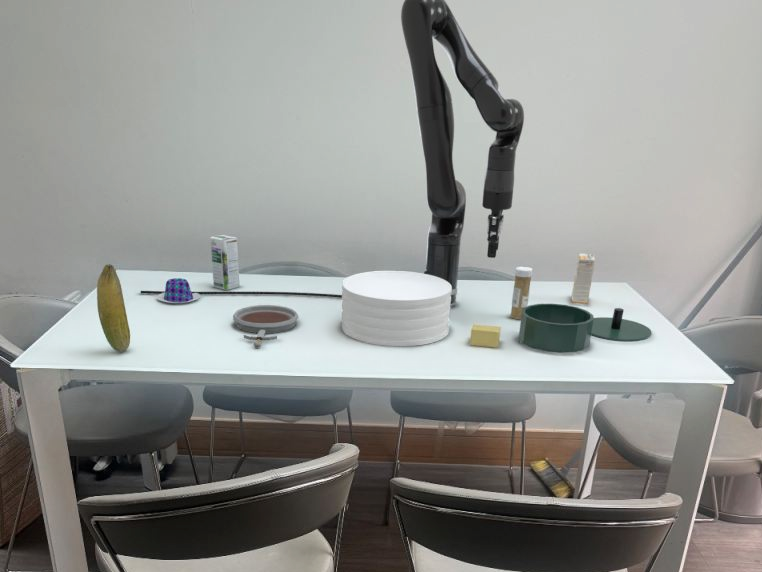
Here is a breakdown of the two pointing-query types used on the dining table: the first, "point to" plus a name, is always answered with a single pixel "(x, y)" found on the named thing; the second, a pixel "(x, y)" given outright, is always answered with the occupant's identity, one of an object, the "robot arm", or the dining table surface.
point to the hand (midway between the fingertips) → (492, 253)
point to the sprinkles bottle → (520, 291)
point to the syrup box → (225, 262)
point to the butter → (485, 335)
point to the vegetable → (112, 309)
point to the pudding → (178, 292)
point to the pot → (555, 327)
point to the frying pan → (265, 321)
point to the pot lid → (619, 328)
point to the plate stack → (396, 308)
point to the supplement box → (583, 278)
